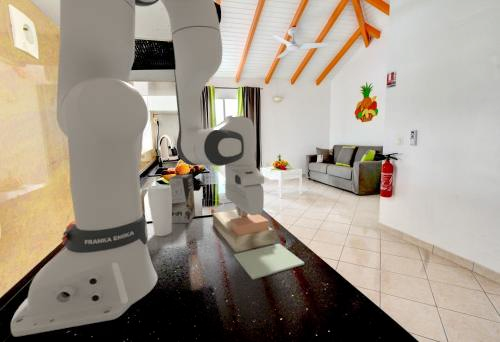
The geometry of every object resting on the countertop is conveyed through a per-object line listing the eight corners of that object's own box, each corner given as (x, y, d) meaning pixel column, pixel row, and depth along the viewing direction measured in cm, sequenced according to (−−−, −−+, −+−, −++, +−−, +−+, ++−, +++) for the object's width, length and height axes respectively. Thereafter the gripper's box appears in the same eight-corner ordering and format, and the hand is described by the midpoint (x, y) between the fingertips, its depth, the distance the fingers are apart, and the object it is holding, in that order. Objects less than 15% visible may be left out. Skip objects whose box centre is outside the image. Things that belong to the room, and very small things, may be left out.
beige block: (235, 252, 60) (235, 237, 60) (213, 224, 80) (212, 213, 80) (273, 243, 65) (273, 229, 64) (243, 219, 85) (242, 208, 84)
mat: (252, 279, 49) (252, 277, 49) (234, 255, 59) (234, 254, 59) (304, 264, 54) (304, 262, 54) (279, 244, 64) (279, 243, 64)
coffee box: (189, 223, 83) (186, 177, 80) (171, 223, 83) (167, 178, 80) (195, 214, 92) (193, 173, 89) (179, 215, 92) (176, 174, 89)
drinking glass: (148, 233, 74) (144, 186, 72) (169, 227, 79) (166, 183, 77) (156, 240, 69) (151, 190, 67) (178, 233, 74) (174, 186, 71)
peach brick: (238, 235, 61) (238, 226, 60) (230, 227, 66) (230, 219, 66) (269, 229, 64) (268, 220, 64) (259, 222, 70) (258, 214, 70)
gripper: (219, 170, 75) (221, 212, 77) (244, 180, 57) (246, 235, 59) (237, 169, 78) (239, 209, 80) (267, 178, 59) (268, 230, 61)
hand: (242, 220), depth 69 cm, fingers closed
